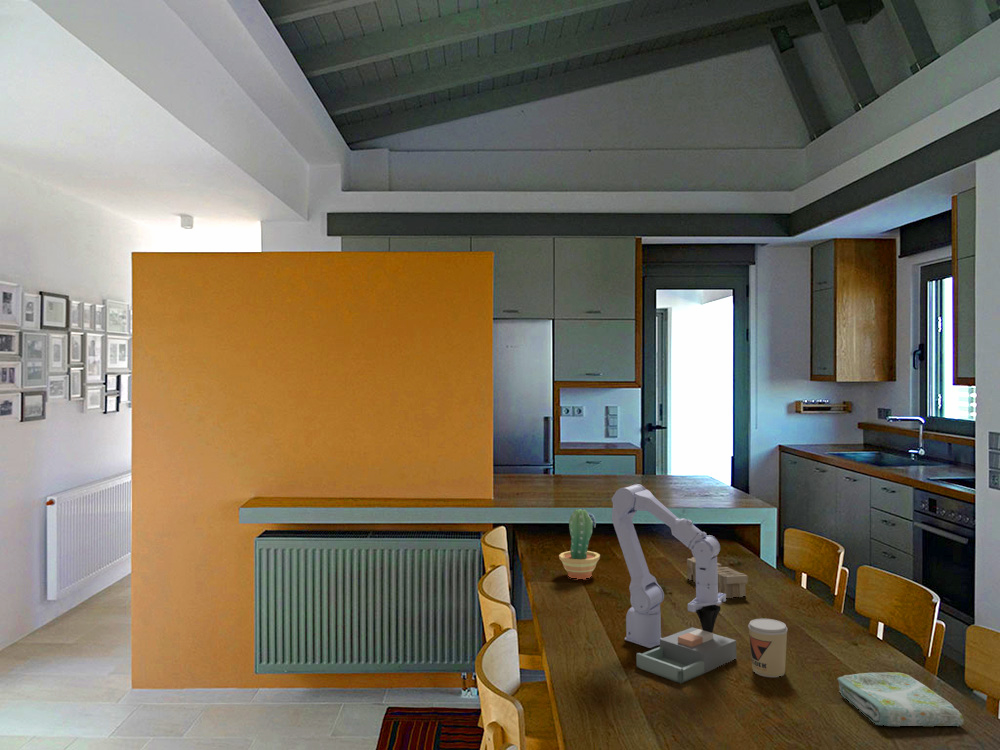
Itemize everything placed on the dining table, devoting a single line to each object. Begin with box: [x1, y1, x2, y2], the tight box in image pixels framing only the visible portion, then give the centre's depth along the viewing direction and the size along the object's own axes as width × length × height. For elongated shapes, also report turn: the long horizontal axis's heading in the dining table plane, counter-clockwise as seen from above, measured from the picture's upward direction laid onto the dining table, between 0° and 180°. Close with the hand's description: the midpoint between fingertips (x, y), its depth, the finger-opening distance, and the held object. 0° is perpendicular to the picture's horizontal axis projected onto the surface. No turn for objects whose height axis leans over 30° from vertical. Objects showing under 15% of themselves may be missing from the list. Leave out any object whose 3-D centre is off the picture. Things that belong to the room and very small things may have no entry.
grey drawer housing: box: [659, 626, 737, 674], centre depth 202 cm, size 14×14×5 cm
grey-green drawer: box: [635, 646, 705, 684], centre depth 194 cm, size 14×10×4 cm
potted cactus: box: [558, 508, 601, 580], centre depth 285 cm, size 15×15×25 cm
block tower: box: [686, 556, 749, 599], centre depth 267 cm, size 8×8×29 cm
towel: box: [836, 671, 965, 727], centre depth 170 cm, size 18×21×5 cm
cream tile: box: [690, 628, 714, 643], centre depth 203 cm, size 4×4×2 cm
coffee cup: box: [747, 618, 788, 678], centre depth 192 cm, size 9×9×12 cm
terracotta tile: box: [678, 633, 703, 647], centre depth 200 cm, size 4×4×2 cm
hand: (707, 632), depth 205 cm, fingers closed
